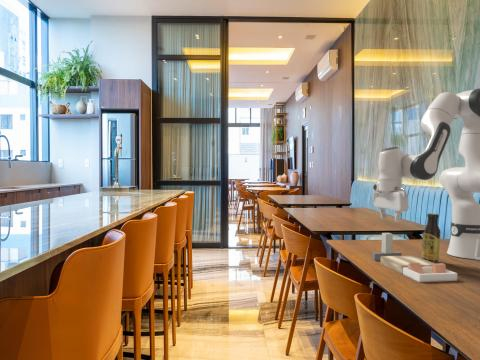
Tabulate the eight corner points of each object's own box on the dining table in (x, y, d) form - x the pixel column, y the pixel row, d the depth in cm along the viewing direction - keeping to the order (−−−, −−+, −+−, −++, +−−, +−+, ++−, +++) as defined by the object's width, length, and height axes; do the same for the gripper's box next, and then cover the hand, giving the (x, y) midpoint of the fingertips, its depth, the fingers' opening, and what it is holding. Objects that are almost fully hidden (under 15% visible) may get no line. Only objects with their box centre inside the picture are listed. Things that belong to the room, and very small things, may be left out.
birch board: (412, 262, 144) (412, 255, 144) (437, 272, 130) (437, 264, 130) (380, 263, 142) (380, 256, 142) (401, 274, 128) (402, 265, 128)
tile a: (442, 263, 126) (445, 264, 125) (442, 274, 126) (445, 275, 125) (432, 263, 126) (435, 264, 124) (432, 275, 126) (435, 276, 124)
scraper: (397, 258, 151) (398, 232, 151) (402, 260, 148) (402, 233, 148) (371, 259, 149) (371, 233, 149) (375, 261, 146) (375, 234, 146)
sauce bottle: (418, 261, 147) (419, 212, 146) (428, 259, 149) (430, 212, 149) (432, 264, 141) (433, 214, 140) (443, 263, 143) (444, 214, 143)
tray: (438, 273, 130) (438, 266, 130) (457, 280, 121) (457, 273, 121) (402, 274, 127) (403, 267, 127) (419, 282, 118) (419, 274, 118)
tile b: (417, 265, 128) (419, 262, 127) (422, 275, 125) (424, 273, 124) (407, 265, 127) (409, 263, 126) (412, 275, 125) (414, 273, 124)
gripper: (412, 187, 138) (413, 223, 139) (383, 185, 158) (383, 216, 159) (398, 188, 137) (398, 224, 138) (370, 185, 157) (370, 217, 158)
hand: (390, 220), depth 148 cm, fingers open, 8 cm apart
